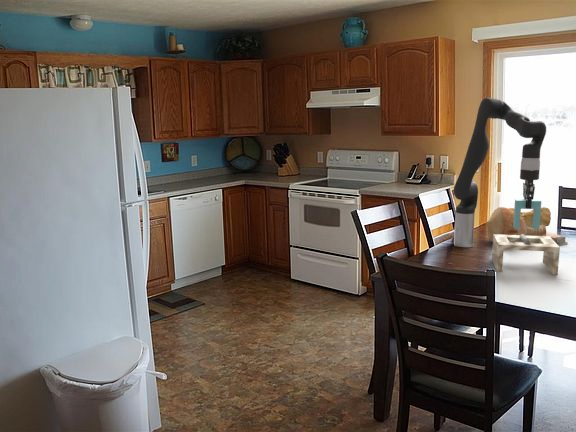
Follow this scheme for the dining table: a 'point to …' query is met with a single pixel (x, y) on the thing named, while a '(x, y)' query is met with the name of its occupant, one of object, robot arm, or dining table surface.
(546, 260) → the shelf
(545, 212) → the rough brown rock
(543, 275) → the dining table surface
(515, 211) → the teal arch block
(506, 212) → the orange-brown rounded sculpted piece
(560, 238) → the packaged product
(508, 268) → the dining table surface
